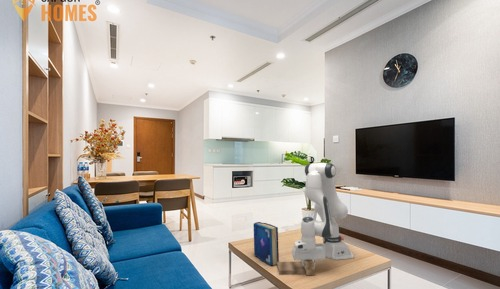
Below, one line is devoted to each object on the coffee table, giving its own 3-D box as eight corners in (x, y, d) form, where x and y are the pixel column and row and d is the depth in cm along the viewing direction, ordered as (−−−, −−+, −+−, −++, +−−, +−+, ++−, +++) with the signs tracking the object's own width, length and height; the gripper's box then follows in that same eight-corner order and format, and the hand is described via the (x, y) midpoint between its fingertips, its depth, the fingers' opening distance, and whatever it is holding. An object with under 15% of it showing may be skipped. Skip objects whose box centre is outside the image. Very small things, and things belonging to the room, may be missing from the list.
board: (309, 265, 157) (309, 261, 157) (314, 274, 145) (314, 270, 145) (276, 265, 156) (276, 261, 157) (279, 274, 144) (279, 270, 145)
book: (252, 255, 172) (252, 221, 173) (260, 253, 176) (259, 220, 177) (271, 267, 154) (271, 229, 156) (279, 264, 159) (278, 227, 160)
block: (311, 269, 150) (311, 257, 151) (314, 275, 143) (314, 263, 143) (303, 269, 150) (303, 258, 151) (306, 275, 143) (306, 263, 143)
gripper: (322, 241, 151) (323, 263, 150) (291, 242, 151) (292, 263, 150) (326, 245, 145) (326, 268, 144) (293, 246, 144) (294, 268, 144)
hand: (308, 266), depth 147 cm, fingers closed on block, 5 cm apart
